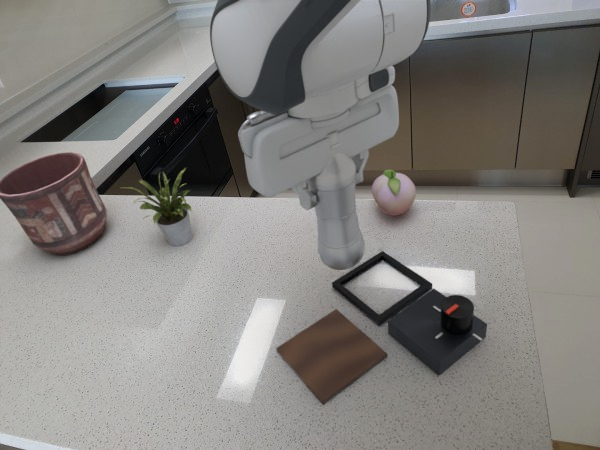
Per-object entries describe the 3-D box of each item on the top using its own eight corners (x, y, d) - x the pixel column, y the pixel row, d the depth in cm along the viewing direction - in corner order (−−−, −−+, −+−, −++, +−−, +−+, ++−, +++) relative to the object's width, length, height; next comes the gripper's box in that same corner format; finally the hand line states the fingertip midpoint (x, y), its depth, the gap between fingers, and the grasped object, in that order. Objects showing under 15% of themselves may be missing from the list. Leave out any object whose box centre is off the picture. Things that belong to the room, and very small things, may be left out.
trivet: (387, 356, 68) (387, 353, 67) (323, 405, 63) (322, 401, 63) (336, 311, 76) (336, 308, 76) (276, 351, 72) (275, 348, 71)
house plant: (138, 269, 94) (106, 203, 84) (146, 230, 105) (118, 168, 95) (207, 254, 94) (183, 187, 85) (207, 216, 106) (186, 153, 96)
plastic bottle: (365, 243, 66) (352, 113, 55) (366, 275, 61) (352, 139, 50) (321, 246, 68) (299, 119, 56) (318, 278, 62) (293, 145, 51)
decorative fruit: (423, 220, 92) (423, 177, 86) (385, 230, 91) (382, 188, 85) (404, 196, 100) (403, 156, 94) (368, 206, 99) (365, 165, 93)
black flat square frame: (432, 288, 77) (432, 283, 76) (379, 326, 72) (378, 321, 72) (382, 255, 86) (382, 250, 85) (332, 287, 81) (331, 282, 80)
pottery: (99, 259, 99) (60, 189, 88) (24, 268, 101) (-23, 200, 90) (126, 212, 113) (95, 146, 102) (59, 220, 115) (22, 157, 104)
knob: (454, 306, 69) (455, 288, 67) (479, 323, 66) (481, 305, 64) (434, 322, 68) (434, 304, 65) (458, 339, 64) (459, 321, 62)
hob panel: (499, 337, 67) (501, 323, 65) (446, 382, 63) (446, 368, 61) (438, 297, 75) (439, 283, 73) (388, 333, 71) (387, 320, 69)
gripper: (249, 129, 44) (277, 242, 52) (406, 63, 51) (409, 170, 59) (220, 113, 48) (250, 219, 56) (368, 55, 56) (375, 155, 64)
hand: (333, 194), depth 58 cm, fingers closed on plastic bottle, 6 cm apart
